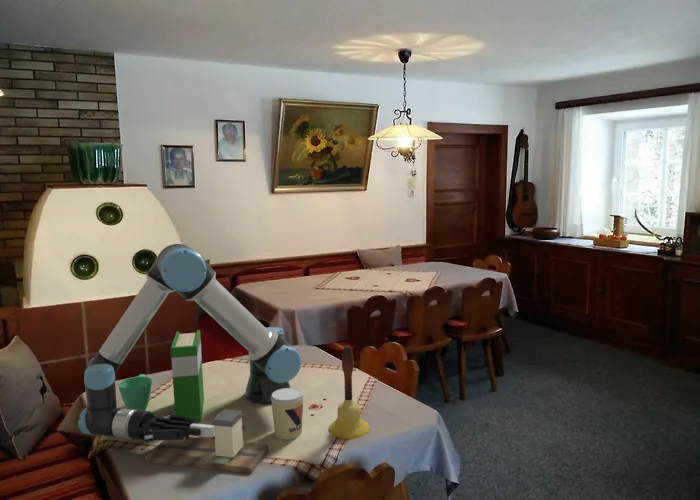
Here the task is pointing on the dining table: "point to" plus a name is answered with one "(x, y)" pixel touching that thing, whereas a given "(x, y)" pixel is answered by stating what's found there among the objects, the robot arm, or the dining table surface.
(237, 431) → the fader knob
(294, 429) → the coffee cup
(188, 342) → the hardback book
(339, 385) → the dining table surface
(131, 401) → the mug
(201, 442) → the fader track
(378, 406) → the dining table surface
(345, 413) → the handbell
